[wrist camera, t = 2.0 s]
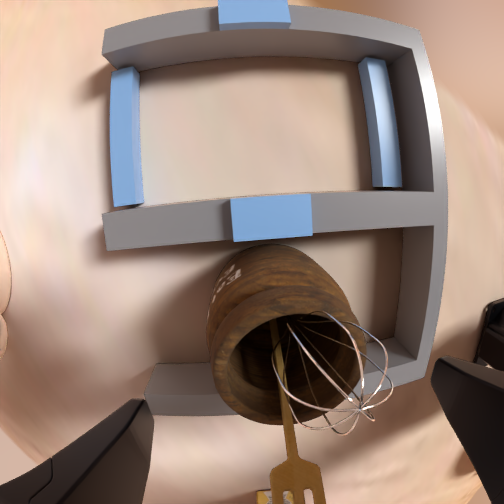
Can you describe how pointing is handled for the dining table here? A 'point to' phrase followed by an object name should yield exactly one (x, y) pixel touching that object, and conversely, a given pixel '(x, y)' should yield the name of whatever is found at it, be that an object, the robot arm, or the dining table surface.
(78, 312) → the dining table surface
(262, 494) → the candy box
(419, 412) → the dining table surface
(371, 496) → the dining table surface
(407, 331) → the divider rack
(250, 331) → the utensil holder
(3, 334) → the teacup with lid
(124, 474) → the robot arm
